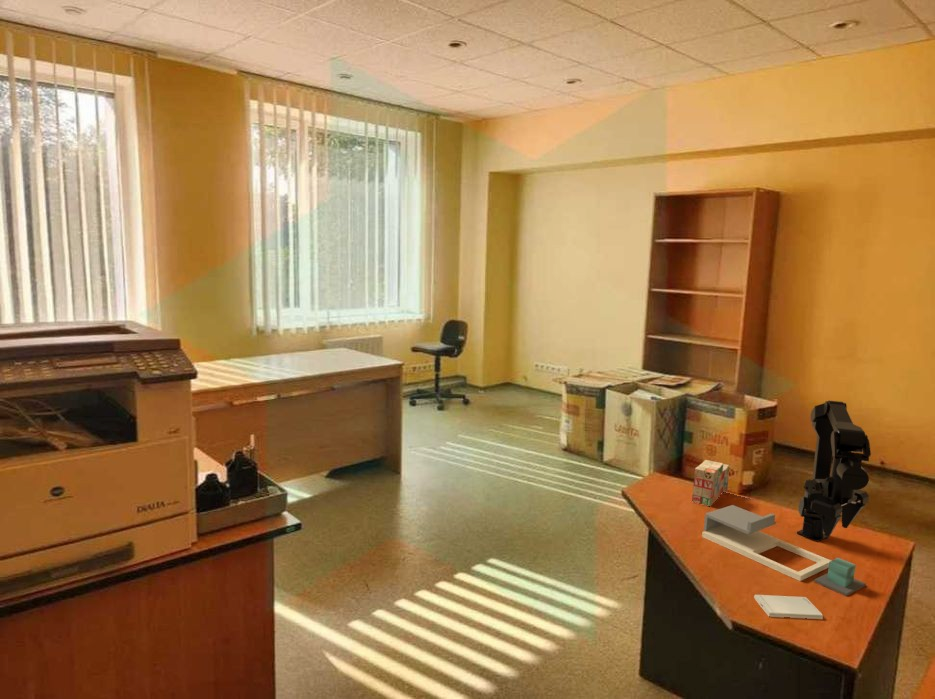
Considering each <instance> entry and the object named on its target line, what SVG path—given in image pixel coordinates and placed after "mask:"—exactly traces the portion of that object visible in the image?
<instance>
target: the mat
mask: <svg viewBox="0 0 935 699" xmlns="http://www.w3.org/2000/svg"><path fill="white" fill-rule="evenodd" d="M827 576H828V572H826V573H824V574H823V575H820V576H819V577H817V578H816V577H815V578H814V580H813V582H814V583H816V584H818V585H821V586H822V587H825V588H827V589H829V590H832V591H834V592H836V593H839V594H841V595H842V596H844V597H848V596H849V595H851V594H853V593H855V592H856V591H858V590H860V589H862V588H863V587H865V586H866V584H867V583H866V582H863V581H861V580H858V579H856V578H854V580H853V583H852V584H850V585H849V586H847V587H842V586H840V585H838V584H835V583H833V582H831V581H828V580H827Z"/></svg>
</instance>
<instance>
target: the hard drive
mask: <svg viewBox="0 0 935 699" xmlns="http://www.w3.org/2000/svg"><path fill="white" fill-rule="evenodd" d="M753 598H754V600H755V601H756V602H757V604H758V605H759V606H760V608H761V609H762V610H763V611H764V613H765V614H766V615H767V616H768V617H769V616H770V617H769V618H784V617H790V618H789V619H805V618H807V620H809V619H811V620H823V619H824V615H823V614H822V612H821V611H820V610H819V609H818V608H817V607H816V606H815V605H814V604H813V603H812V601H810V600H809V599H808V598H807V597H806V596H791V595H790V596H789V595H788V596H787V595H786V596H784V595H769V594H767V595H766V594H754V596H753Z"/></svg>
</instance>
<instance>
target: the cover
mask: <svg viewBox="0 0 935 699" xmlns="http://www.w3.org/2000/svg"><path fill="white" fill-rule="evenodd" d="M775 519H776V514H775V513H772V512H771V513H768V514H766V515H764V516H763V515H759V514H757V513H755V512H752V511H749V510H746V509H744V508H741V507H739V506H736V505H734V504H731V505H728V506H725V507H722V508H718V509H715V510H712V511H709V512H706V513H705V514H704V522H703V531H707V530H710V529H713V528H716V527H719V526H722V525H724V524H725V525H727V526H729V527H732V528H734V529H737V530H739V531H741V532H744V533H746V534H751V533H754V532H756V531H760V530H761V531H762V530H764V529H767V528H770V527H772V526H775V525H776V523H777V521H775Z"/></svg>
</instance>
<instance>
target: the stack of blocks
mask: <svg viewBox="0 0 935 699" xmlns="http://www.w3.org/2000/svg"><path fill="white" fill-rule="evenodd" d="M729 475H730V465H729V464H726V463H723V462H718V461H713V460H710V459H709V460H708V459H705V460H703V462H702V463H700V464H699V465H698V466H696V467H695V469H694V477H693V489H692V496H691V502H692V501H693V502H696V503H699V504H698V505H700V504H704V505H708V506H711V505H712V504H713V503H714V502H715V501H716V500H717V499H718V500H719V498H720V497H721V496H722V495H724V493H725V492H727V490H728V484H729ZM723 492H724V493H723ZM721 493H722V495H721ZM720 495H721V496H720ZM719 496H720V497H719ZM718 497H719V498H718ZM718 500H717V501H718ZM717 501H716V502H717ZM716 502H715V503H716ZM696 503H695V504H696ZM715 503H714V504H715ZM714 504H713V505H714ZM704 505H703V506H704ZM713 505H712V506H713ZM708 506H707V507H708ZM712 506H711V507H712Z"/></svg>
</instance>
